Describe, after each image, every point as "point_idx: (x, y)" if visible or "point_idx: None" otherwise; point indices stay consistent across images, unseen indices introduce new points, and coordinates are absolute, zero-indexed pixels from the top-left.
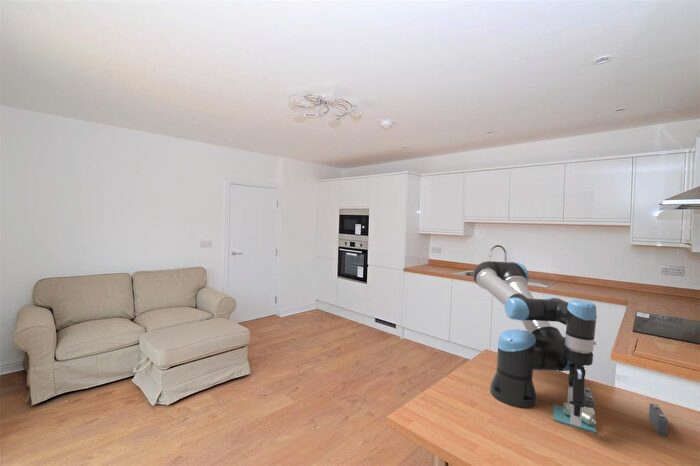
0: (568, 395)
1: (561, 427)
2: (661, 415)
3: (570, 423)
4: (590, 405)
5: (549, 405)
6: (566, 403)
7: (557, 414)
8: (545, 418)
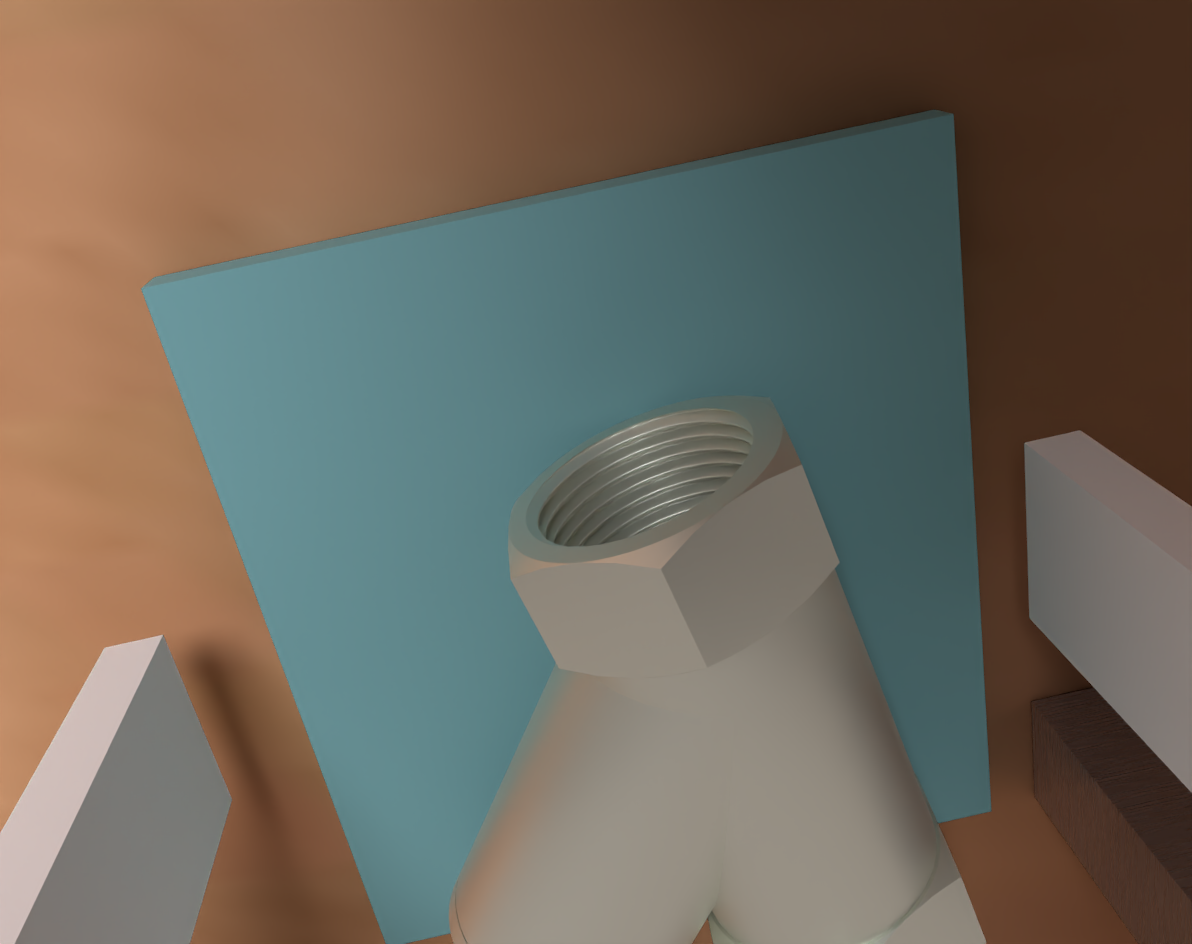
0: (1190, 581)
1: (23, 454)
2: None
3: (103, 656)
4: (1143, 902)
5: (907, 31)
6: (662, 592)
7: (468, 307)
8: (88, 81)
